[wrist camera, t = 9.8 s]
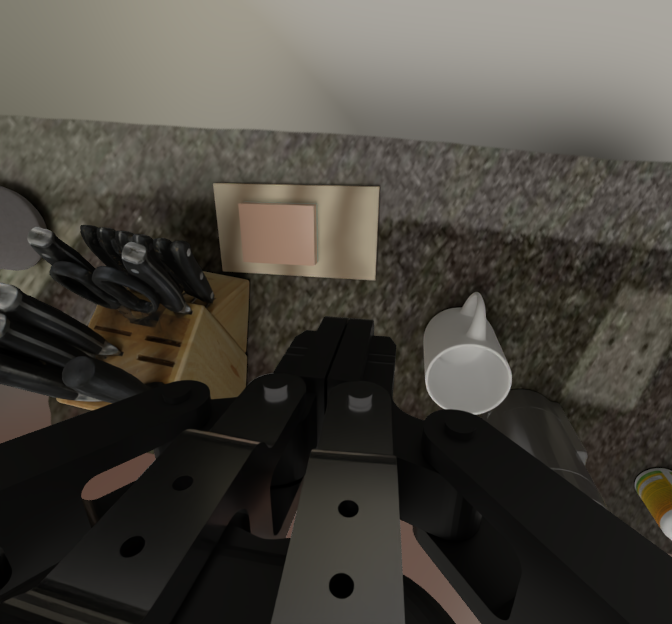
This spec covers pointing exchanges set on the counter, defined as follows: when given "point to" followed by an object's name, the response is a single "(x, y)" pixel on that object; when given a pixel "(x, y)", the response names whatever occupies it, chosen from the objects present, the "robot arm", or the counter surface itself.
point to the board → (333, 227)
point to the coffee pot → (17, 231)
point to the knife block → (125, 322)
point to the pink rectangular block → (279, 232)
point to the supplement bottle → (657, 496)
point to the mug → (465, 359)
